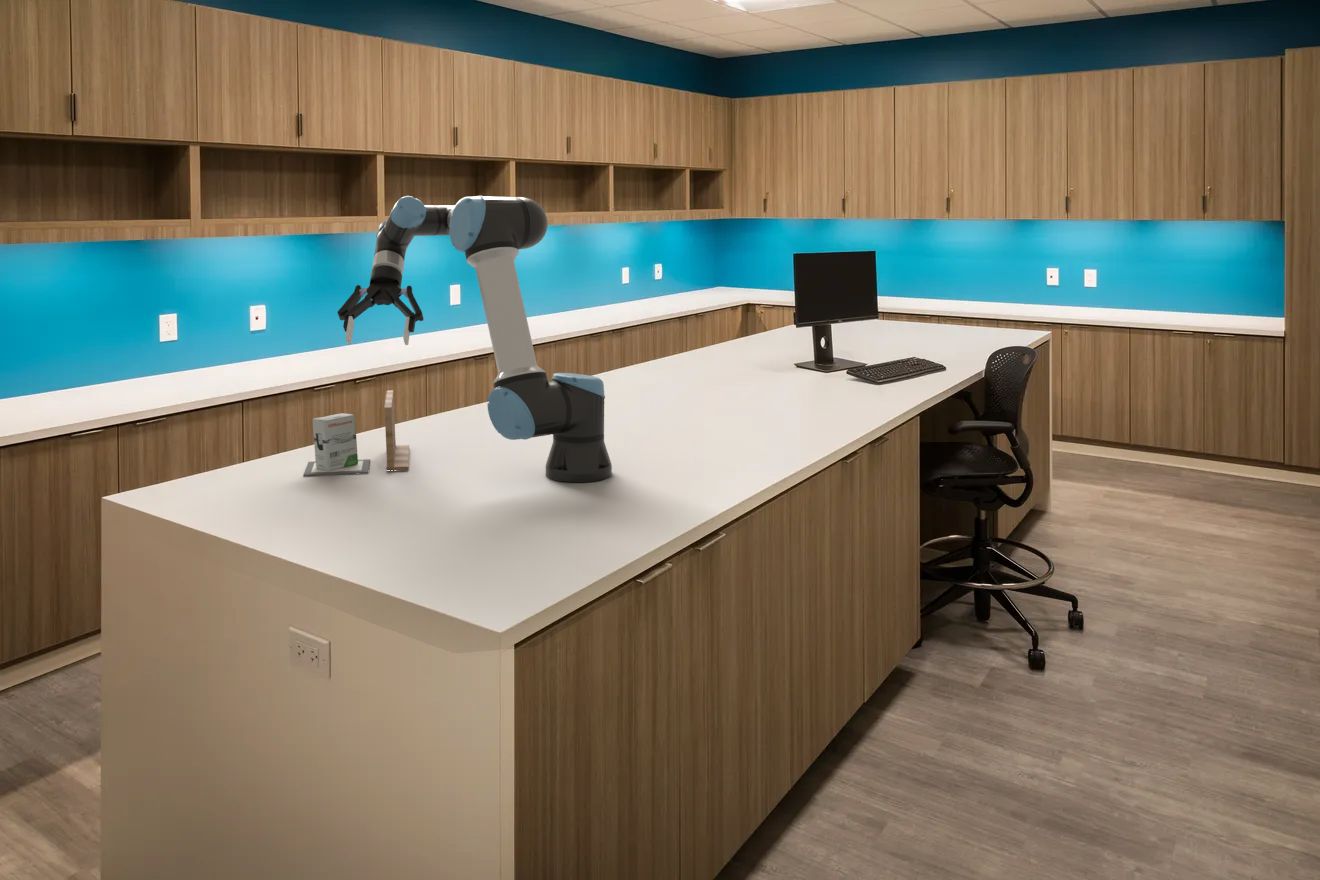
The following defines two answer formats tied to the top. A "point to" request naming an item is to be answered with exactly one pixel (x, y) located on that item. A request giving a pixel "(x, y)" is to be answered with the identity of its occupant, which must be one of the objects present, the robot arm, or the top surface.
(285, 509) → the top surface
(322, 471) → the mat
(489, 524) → the top surface
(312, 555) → the top surface
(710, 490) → the top surface
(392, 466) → the light wood l-shaped piece
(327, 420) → the ink box
